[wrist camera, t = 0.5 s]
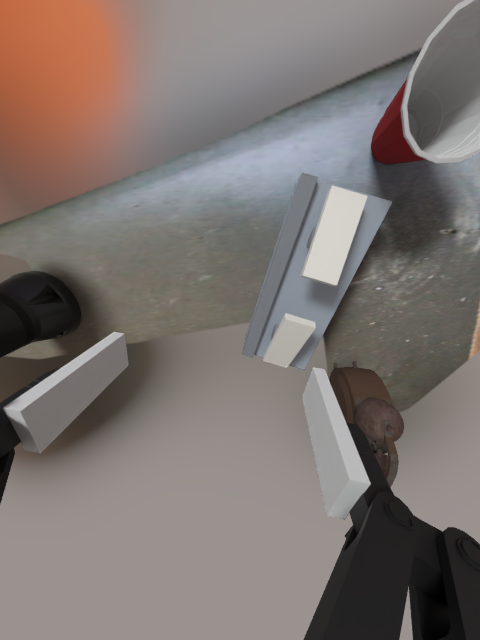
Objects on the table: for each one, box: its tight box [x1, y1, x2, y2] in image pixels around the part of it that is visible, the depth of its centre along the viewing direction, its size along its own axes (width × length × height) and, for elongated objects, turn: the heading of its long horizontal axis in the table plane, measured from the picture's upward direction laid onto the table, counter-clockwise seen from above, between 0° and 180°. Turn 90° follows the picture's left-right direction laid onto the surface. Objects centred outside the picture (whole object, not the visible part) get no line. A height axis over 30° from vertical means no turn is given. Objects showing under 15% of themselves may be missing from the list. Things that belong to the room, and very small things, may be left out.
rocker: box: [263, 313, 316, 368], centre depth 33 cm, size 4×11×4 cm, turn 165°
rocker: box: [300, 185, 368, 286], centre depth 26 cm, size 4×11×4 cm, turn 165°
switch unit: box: [242, 173, 392, 370], centre depth 34 cm, size 12×28×7 cm, turn 165°
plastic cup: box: [371, 0, 480, 164], centre depth 22 cm, size 11×11×12 cm
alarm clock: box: [329, 362, 404, 487], centre depth 35 cm, size 15×7×20 cm, turn 3°
